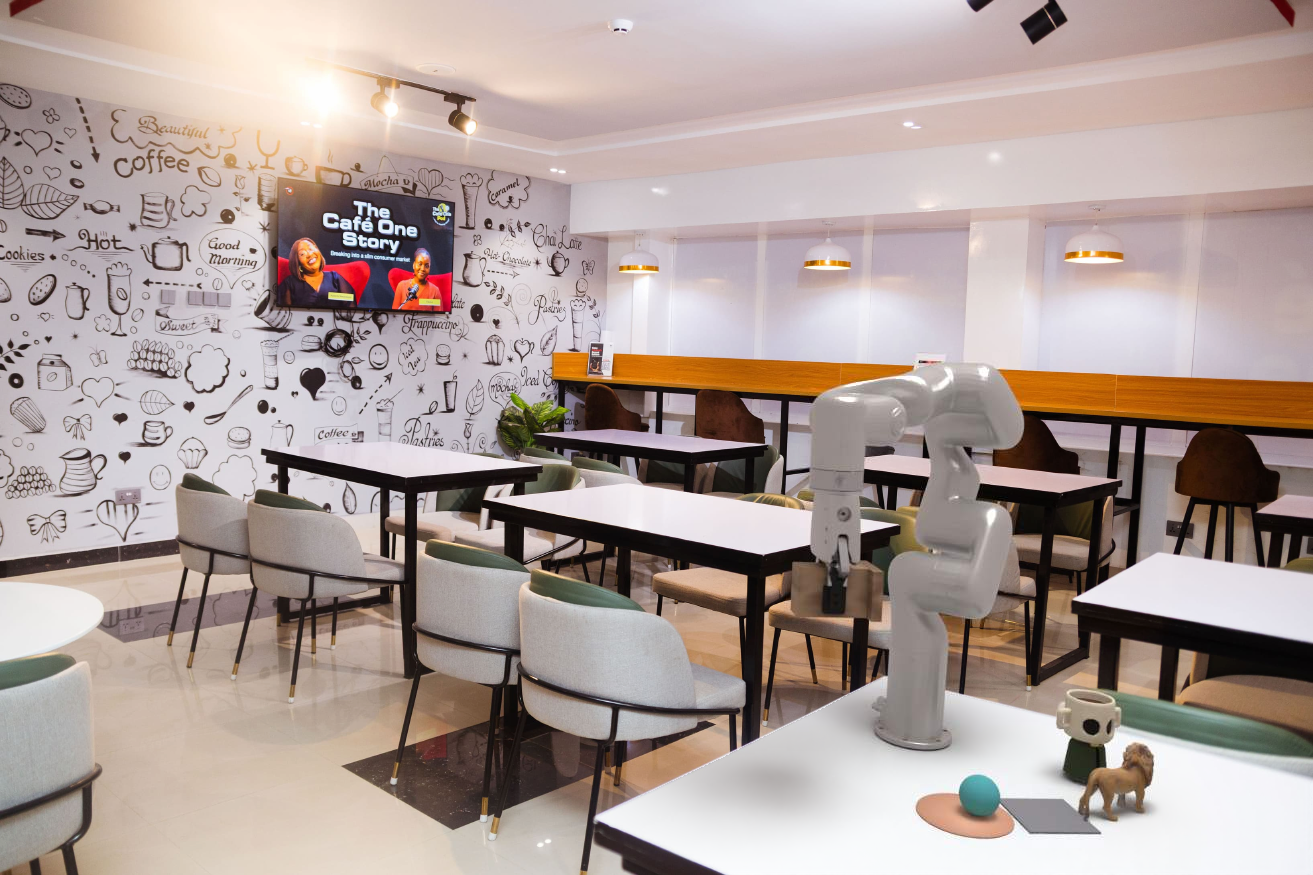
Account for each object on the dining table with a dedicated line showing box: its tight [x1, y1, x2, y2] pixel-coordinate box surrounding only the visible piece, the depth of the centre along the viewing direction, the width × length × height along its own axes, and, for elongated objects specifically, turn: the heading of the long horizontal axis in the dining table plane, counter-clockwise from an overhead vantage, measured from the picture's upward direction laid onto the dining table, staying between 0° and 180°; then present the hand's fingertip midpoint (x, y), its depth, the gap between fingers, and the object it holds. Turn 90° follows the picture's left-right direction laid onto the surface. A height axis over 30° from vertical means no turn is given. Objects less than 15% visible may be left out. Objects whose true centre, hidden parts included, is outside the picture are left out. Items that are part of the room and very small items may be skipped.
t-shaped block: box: [790, 560, 885, 623], centre depth 131 cm, size 12×8×7 cm
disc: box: [915, 792, 1015, 839], centre depth 128 cm, size 13×13×1 cm
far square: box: [1000, 797, 1102, 835], centre depth 129 cm, size 10×10×1 cm
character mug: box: [1055, 688, 1122, 784], centre depth 143 cm, size 11×7×13 cm, turn 100°
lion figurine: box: [1077, 741, 1155, 822], centre depth 132 cm, size 15×5×9 cm, turn 124°
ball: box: [958, 774, 1001, 817], centre depth 129 cm, size 6×6×6 cm
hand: (828, 608), depth 131 cm, fingers closed on t-shaped block, 4 cm apart
